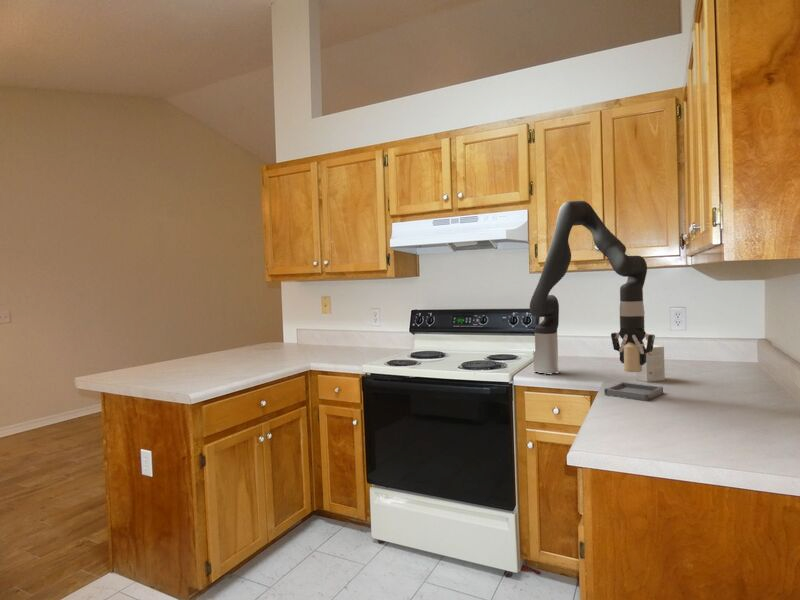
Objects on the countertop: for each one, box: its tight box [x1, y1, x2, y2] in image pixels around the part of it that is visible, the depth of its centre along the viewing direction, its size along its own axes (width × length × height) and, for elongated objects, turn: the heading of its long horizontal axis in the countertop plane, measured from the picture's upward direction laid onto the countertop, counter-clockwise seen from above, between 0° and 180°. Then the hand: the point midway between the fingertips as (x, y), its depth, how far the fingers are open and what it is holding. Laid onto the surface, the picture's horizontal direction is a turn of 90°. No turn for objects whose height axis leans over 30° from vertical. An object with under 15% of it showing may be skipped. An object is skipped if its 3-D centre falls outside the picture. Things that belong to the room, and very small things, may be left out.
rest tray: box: [603, 381, 664, 402], centre depth 166 cm, size 14×14×2 cm
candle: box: [623, 342, 642, 373], centre depth 166 cm, size 6×6×10 cm
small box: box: [635, 344, 666, 383], centre depth 187 cm, size 8×6×13 cm
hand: (633, 363), depth 166 cm, fingers closed on candle, 5 cm apart
